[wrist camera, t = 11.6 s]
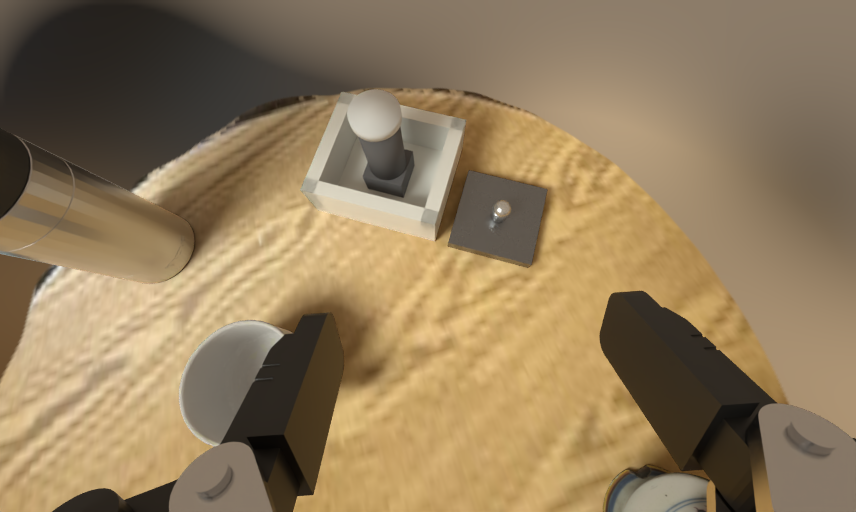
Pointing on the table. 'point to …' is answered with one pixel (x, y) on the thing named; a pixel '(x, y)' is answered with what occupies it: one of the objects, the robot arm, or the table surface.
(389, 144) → the knob
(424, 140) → the bin
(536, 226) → the stud plate
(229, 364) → the teacup
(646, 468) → the apothecary jar
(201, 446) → the table surface
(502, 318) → the table surface
